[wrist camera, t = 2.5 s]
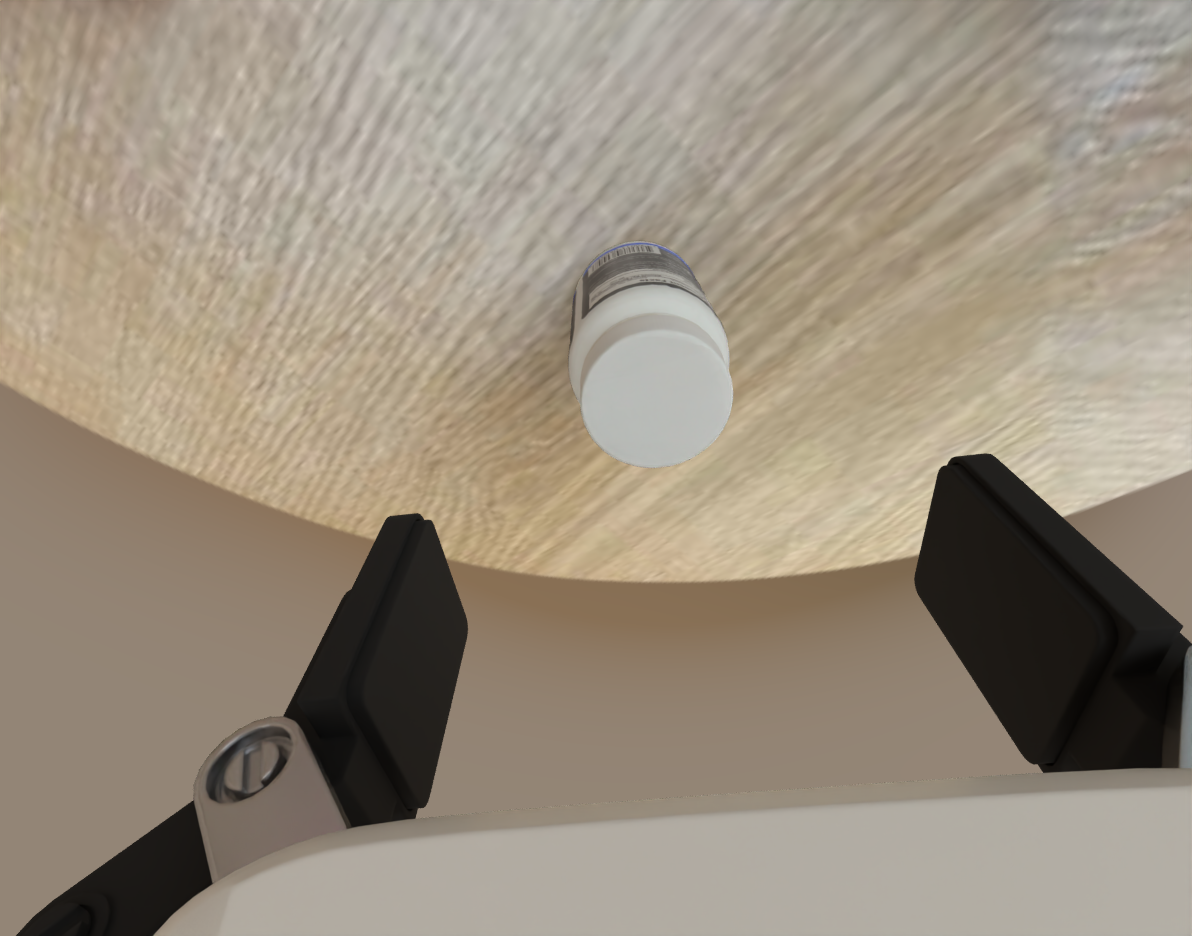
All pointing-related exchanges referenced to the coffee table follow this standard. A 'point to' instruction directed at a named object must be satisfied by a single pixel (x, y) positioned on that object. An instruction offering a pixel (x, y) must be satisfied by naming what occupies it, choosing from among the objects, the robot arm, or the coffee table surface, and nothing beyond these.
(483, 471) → the coffee table surface
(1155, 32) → the coffee table surface
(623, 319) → the pill bottle
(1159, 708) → the robot arm
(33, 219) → the coffee table surface
